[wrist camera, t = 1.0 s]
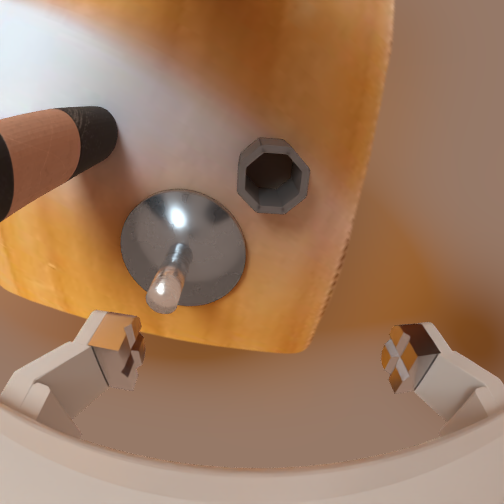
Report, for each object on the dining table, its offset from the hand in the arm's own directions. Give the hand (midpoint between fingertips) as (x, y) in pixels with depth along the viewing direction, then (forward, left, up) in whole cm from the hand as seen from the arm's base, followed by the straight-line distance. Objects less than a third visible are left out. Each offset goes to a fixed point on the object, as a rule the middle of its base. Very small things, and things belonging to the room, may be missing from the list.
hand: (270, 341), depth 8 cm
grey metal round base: (+11, -9, -25) cm, 28 cm away
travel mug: (-4, -20, -25) cm, 32 cm away
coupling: (0, +1, -25) cm, 25 cm away
